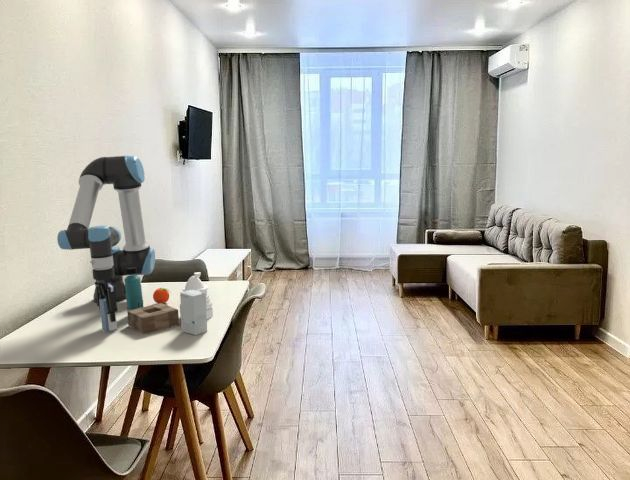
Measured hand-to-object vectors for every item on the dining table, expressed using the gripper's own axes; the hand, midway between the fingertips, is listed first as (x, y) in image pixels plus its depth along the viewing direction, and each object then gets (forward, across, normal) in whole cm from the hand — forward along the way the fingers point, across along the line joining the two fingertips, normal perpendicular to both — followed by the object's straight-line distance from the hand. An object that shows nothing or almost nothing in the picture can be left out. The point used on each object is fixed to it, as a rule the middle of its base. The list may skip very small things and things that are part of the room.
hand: (109, 327), depth 213 cm
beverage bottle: (+1, -10, +15) cm, 18 cm away
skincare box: (+1, +27, +21) cm, 34 cm away
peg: (+1, 0, 0) cm, 1 cm away
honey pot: (+1, +11, +31) cm, 33 cm away
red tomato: (+1, -18, +31) cm, 36 cm away
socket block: (+1, +8, +14) cm, 16 cm away
